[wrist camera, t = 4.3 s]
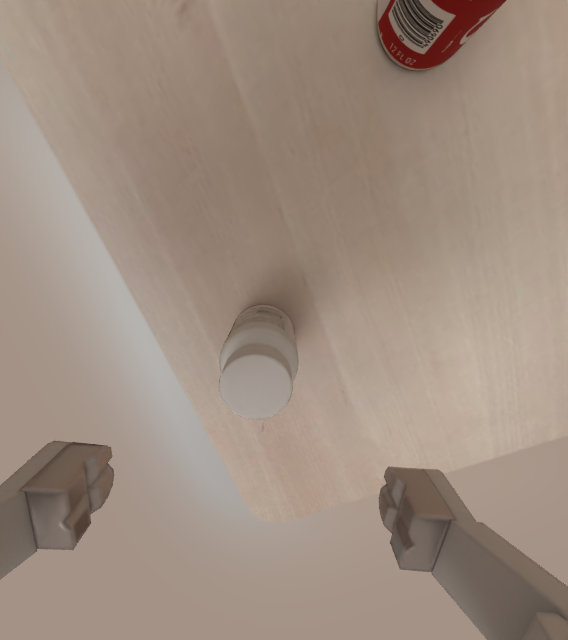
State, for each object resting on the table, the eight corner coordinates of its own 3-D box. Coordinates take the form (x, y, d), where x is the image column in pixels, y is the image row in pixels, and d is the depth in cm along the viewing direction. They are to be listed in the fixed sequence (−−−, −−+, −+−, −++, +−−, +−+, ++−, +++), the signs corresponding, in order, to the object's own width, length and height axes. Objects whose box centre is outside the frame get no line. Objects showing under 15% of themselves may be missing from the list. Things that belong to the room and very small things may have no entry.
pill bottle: (221, 320, 20) (188, 371, 12) (276, 292, 19) (275, 328, 12) (251, 370, 21) (238, 442, 14) (303, 344, 21) (318, 405, 13)
